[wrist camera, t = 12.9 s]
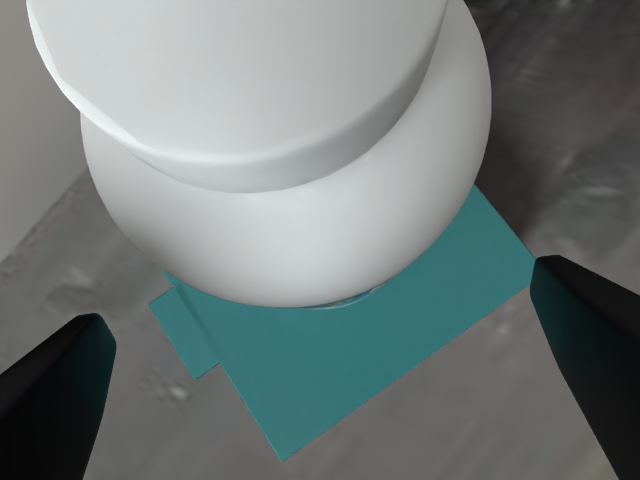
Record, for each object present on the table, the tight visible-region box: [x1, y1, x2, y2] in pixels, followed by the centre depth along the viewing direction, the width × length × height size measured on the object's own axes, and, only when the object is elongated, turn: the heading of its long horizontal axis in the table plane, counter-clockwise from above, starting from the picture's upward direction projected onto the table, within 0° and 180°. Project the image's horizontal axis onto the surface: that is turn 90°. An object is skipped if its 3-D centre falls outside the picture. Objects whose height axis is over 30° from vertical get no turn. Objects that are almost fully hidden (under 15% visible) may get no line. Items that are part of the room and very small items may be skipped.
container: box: [149, 184, 536, 462], centre depth 20 cm, size 14×12×4 cm
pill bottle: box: [26, 0, 491, 309], centre depth 11 cm, size 8×7×14 cm
